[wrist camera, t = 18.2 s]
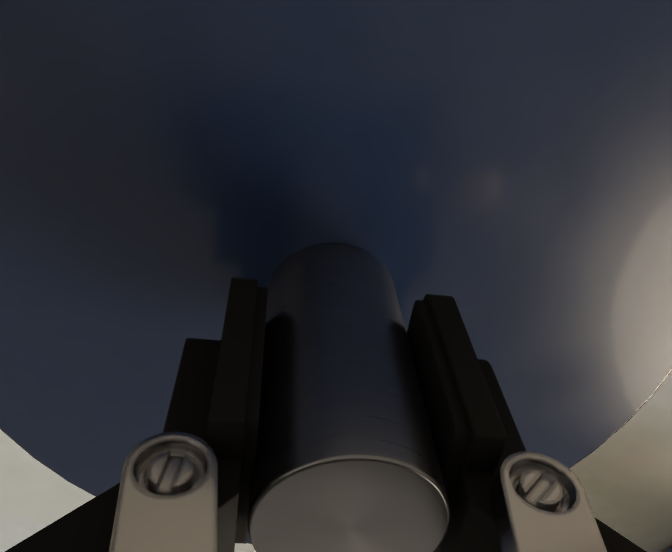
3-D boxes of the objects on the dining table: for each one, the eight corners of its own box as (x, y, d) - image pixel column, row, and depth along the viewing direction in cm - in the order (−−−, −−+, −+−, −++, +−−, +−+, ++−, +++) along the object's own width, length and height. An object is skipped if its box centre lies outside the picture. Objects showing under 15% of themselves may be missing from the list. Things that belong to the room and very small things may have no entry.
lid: (-1, 507, 19) (-141, 798, 13) (-208, -279, 9) (-1121, -588, 3) (569, 521, 21) (682, 780, 15) (875, -119, 11) (1544, -131, 5)
